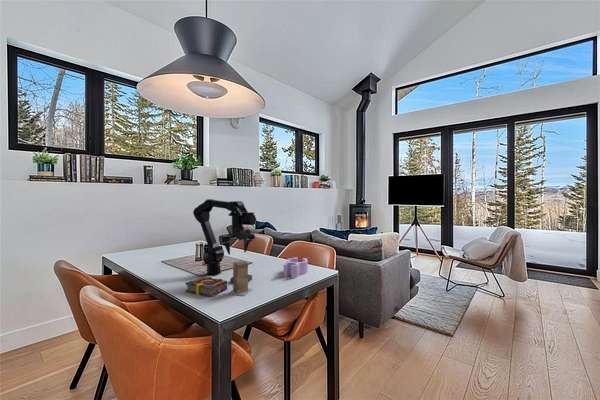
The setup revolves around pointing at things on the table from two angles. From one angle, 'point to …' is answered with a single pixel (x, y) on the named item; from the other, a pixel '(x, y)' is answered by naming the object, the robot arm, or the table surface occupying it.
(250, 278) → the trap pit
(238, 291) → the tan wooden block
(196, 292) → the decorative book
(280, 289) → the table surface
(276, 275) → the table surface
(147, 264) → the table surface
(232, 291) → the pad
